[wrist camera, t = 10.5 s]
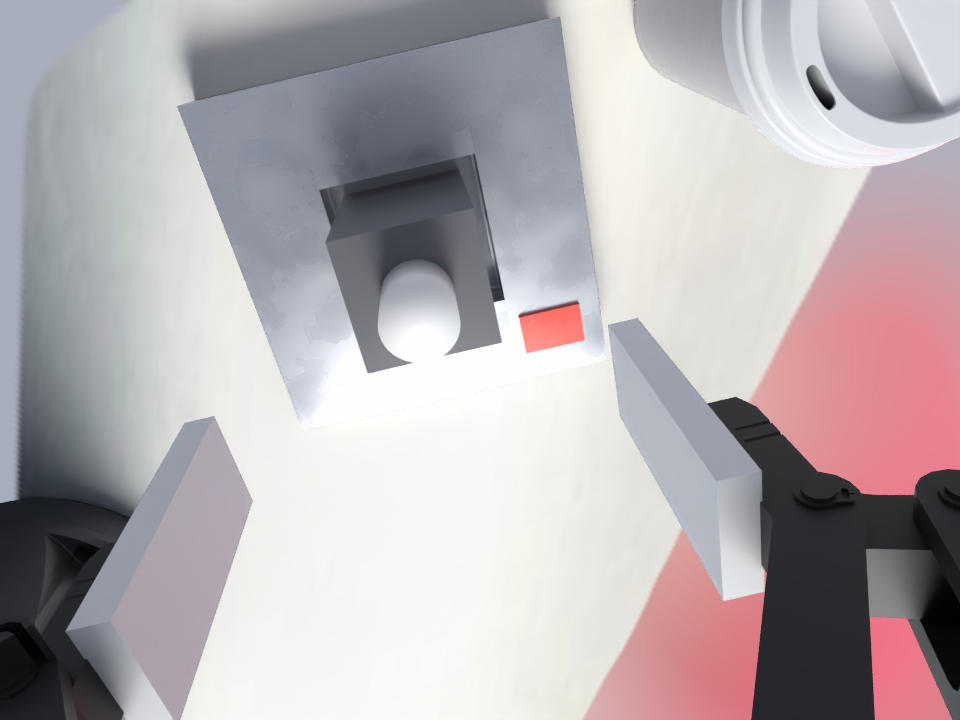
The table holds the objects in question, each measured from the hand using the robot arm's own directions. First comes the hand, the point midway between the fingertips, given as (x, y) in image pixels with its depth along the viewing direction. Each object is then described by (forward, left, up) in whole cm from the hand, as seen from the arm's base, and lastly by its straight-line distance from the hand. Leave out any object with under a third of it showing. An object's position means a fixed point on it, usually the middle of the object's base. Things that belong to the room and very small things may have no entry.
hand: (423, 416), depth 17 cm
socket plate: (0, 0, -18) cm, 18 cm away
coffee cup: (+15, +7, -18) cm, 24 cm away
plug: (0, 0, -17) cm, 17 cm away
